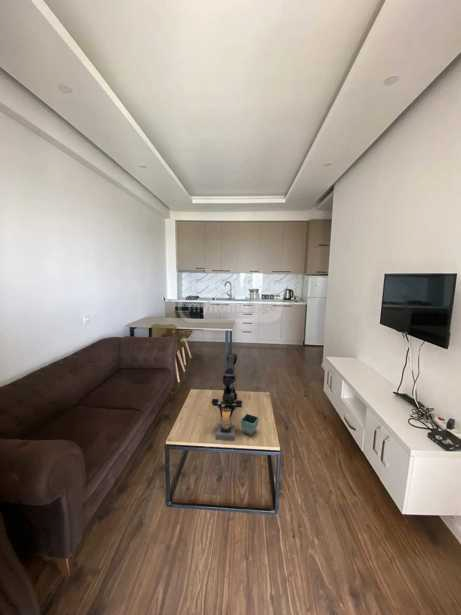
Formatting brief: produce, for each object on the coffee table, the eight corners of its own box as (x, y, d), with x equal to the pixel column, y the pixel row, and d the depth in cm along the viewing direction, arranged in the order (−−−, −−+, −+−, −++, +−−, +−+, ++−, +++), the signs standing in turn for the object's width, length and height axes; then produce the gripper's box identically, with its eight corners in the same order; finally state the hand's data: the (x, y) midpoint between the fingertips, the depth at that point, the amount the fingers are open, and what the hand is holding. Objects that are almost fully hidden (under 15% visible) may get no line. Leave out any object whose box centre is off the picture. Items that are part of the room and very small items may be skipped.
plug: (226, 421, 160) (227, 403, 158) (234, 427, 154) (234, 408, 153) (217, 425, 155) (218, 407, 154) (225, 431, 150) (225, 412, 148)
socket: (218, 428, 161) (218, 423, 161) (235, 429, 160) (235, 424, 160) (215, 439, 150) (215, 434, 150) (234, 440, 150) (234, 435, 149)
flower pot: (258, 430, 160) (259, 417, 159) (253, 438, 152) (253, 424, 151) (246, 426, 164) (246, 413, 163) (240, 433, 156) (240, 420, 155)
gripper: (212, 386, 156) (209, 413, 147) (242, 388, 155) (241, 415, 145) (214, 392, 165) (211, 418, 156) (242, 394, 164) (241, 420, 154)
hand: (225, 417), depth 153 cm, fingers closed on plug, 5 cm apart
